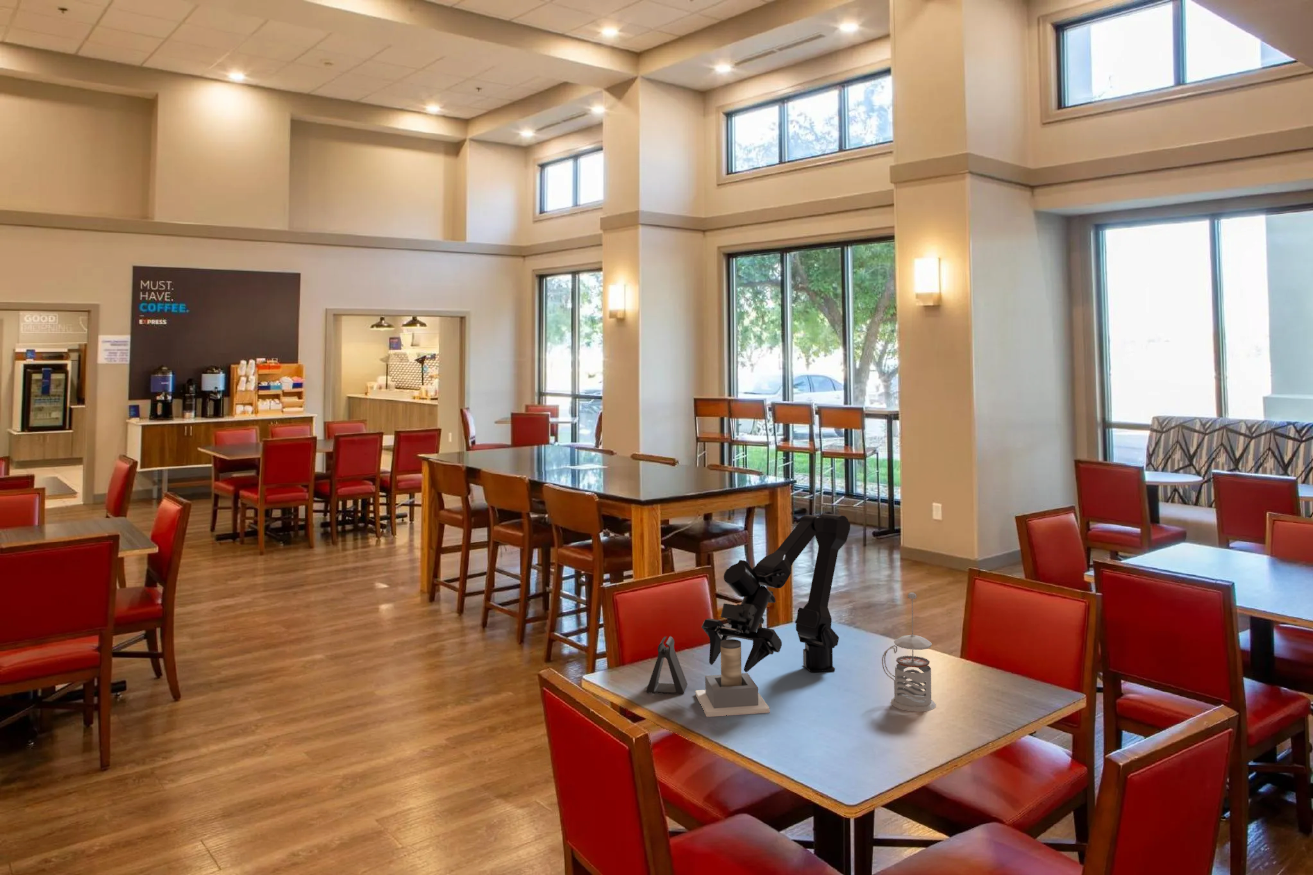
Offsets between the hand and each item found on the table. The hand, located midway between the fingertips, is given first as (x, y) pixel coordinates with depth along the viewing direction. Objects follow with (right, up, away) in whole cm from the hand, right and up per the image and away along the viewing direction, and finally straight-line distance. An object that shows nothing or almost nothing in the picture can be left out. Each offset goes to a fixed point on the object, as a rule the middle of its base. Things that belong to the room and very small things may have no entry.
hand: (727, 667), depth 190 cm
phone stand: (-13, -9, +12) cm, 20 cm away
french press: (+41, -8, -1) cm, 41 cm away
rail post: (+1, -8, +1) cm, 8 cm away
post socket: (+1, -9, +1) cm, 9 cm away
